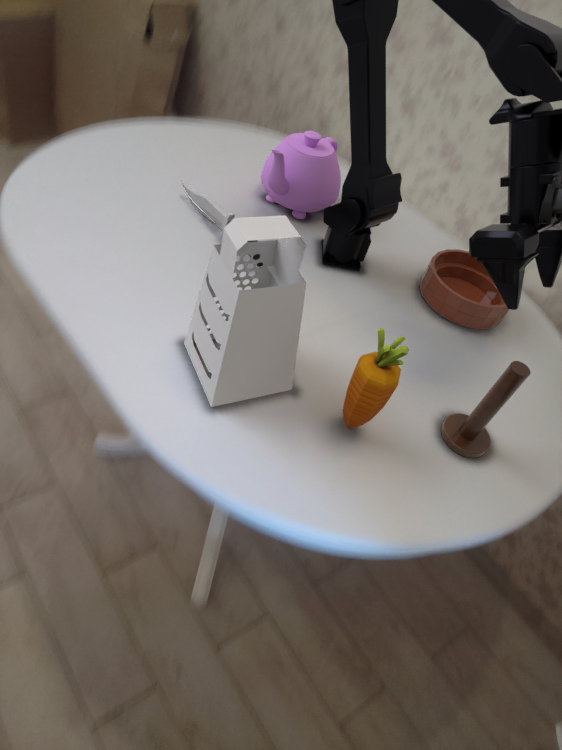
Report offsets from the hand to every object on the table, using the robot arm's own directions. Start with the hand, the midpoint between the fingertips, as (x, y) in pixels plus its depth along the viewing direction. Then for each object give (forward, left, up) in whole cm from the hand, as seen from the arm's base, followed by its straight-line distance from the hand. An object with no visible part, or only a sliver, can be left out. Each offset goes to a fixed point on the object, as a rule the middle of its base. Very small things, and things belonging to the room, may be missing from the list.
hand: (531, 297), depth 63 cm
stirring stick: (-5, -13, -14) cm, 19 cm away
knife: (-39, +21, -14) cm, 47 cm away
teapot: (-27, +35, -14) cm, 47 cm away
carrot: (-20, -14, -14) cm, 28 cm away
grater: (-34, -7, -14) cm, 37 cm away
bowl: (+1, +15, -14) cm, 20 cm away
